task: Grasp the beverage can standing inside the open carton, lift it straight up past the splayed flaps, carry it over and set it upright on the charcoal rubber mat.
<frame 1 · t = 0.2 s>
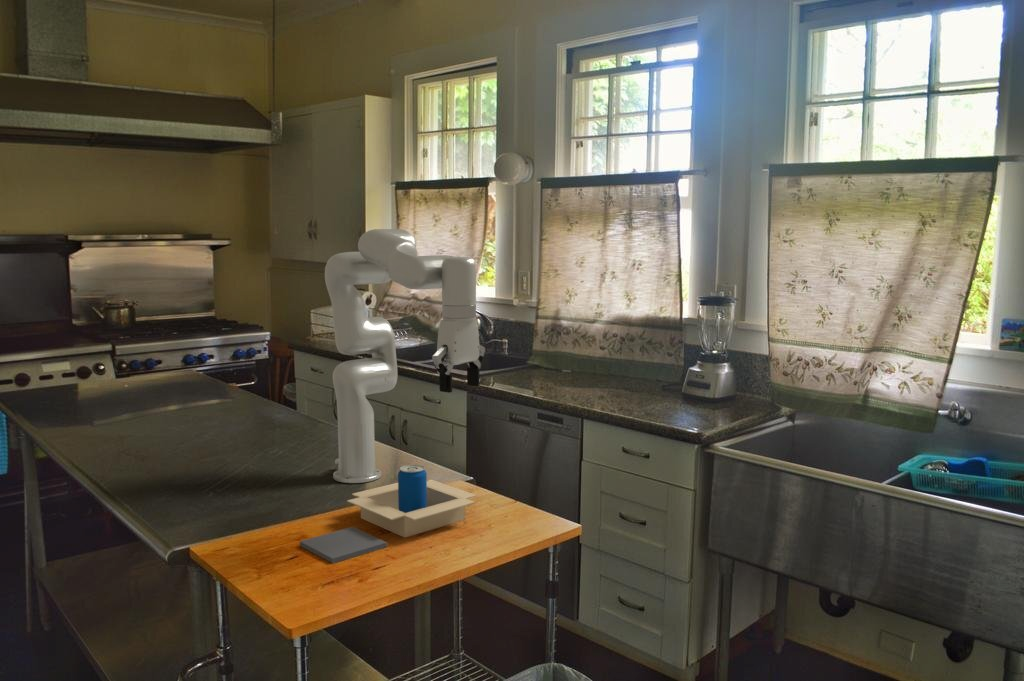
hand: (459, 388, 194), 30 cm above the table, fingers open, 9 cm apart
beverage can: (412, 519, 198), resting in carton
mat: (343, 546, 180), on the table
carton: (412, 518, 198), on the table
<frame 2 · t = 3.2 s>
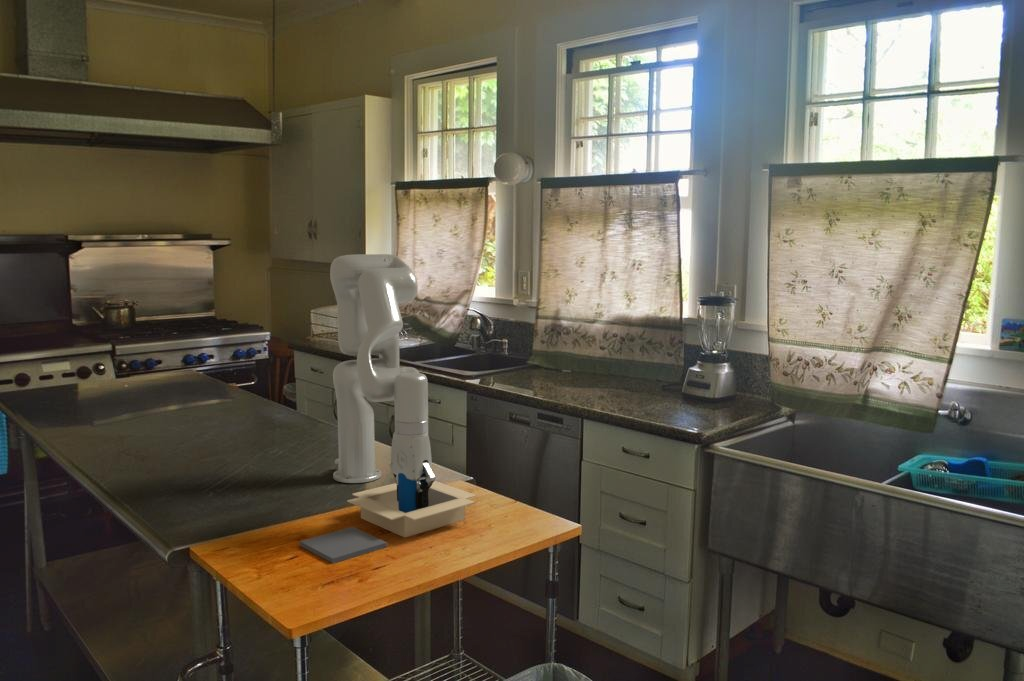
hand: (412, 503, 197), 4 cm above the table, fingers closed on beverage can, 6 cm apart
beverage can: (412, 519, 198), resting in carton, touching gripper
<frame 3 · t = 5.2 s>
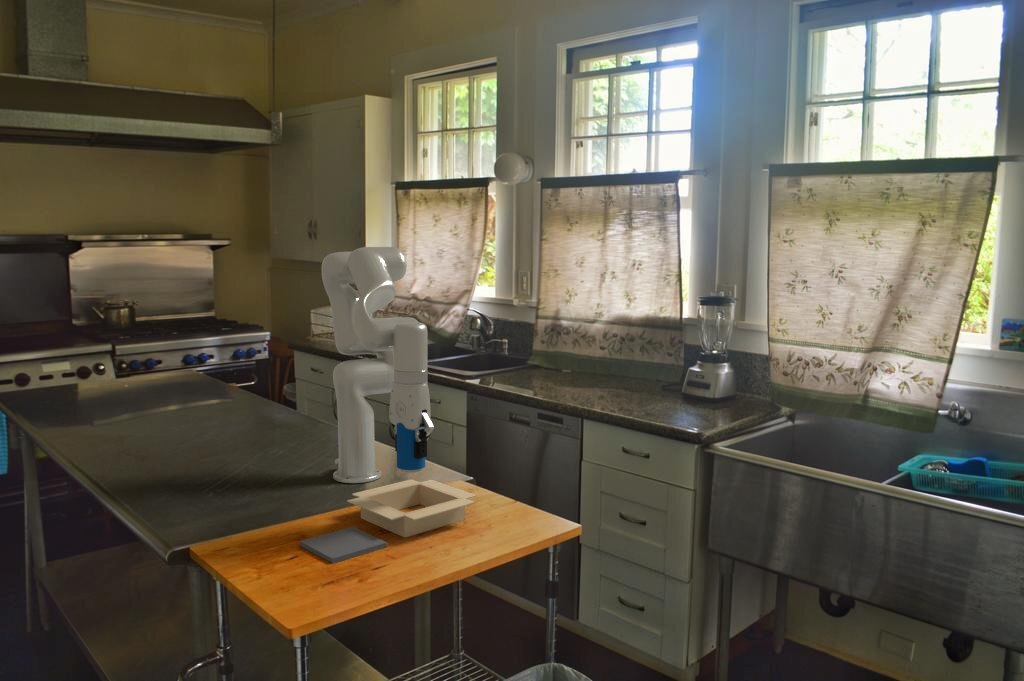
hand: (411, 453, 196), 15 cm above the table, fingers closed on beverage can, 6 cm apart
beverage can: (411, 470, 197), point 11 cm above the table, touching gripper
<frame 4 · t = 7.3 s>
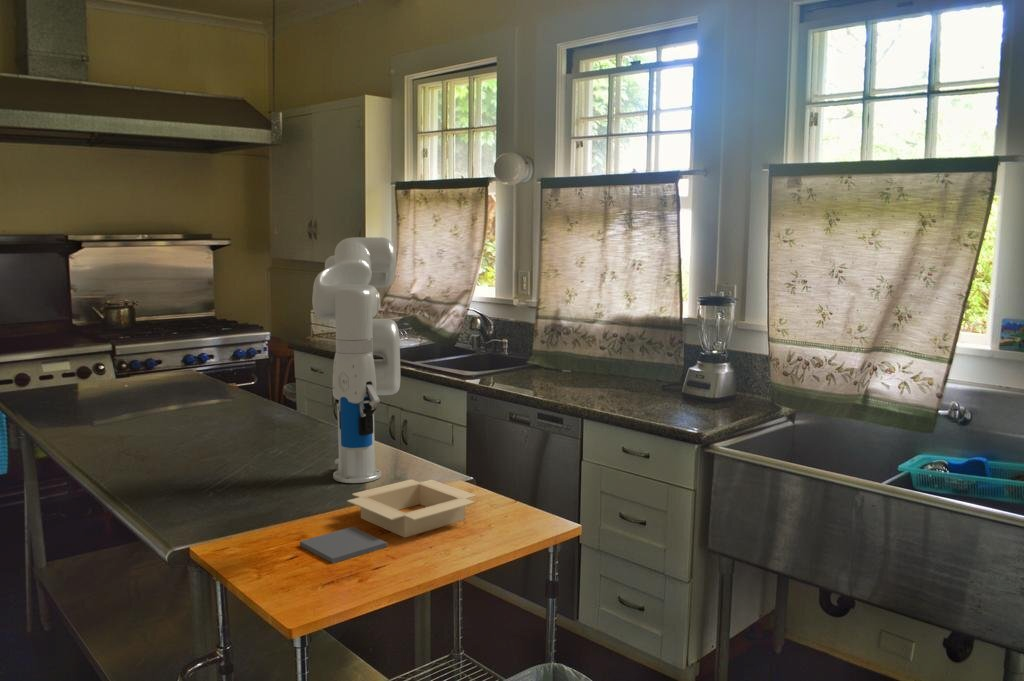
hand: (356, 430, 181), 24 cm above the table, fingers closed on beverage can, 6 cm apart
beverage can: (356, 448, 181), point 20 cm above the table, touching gripper
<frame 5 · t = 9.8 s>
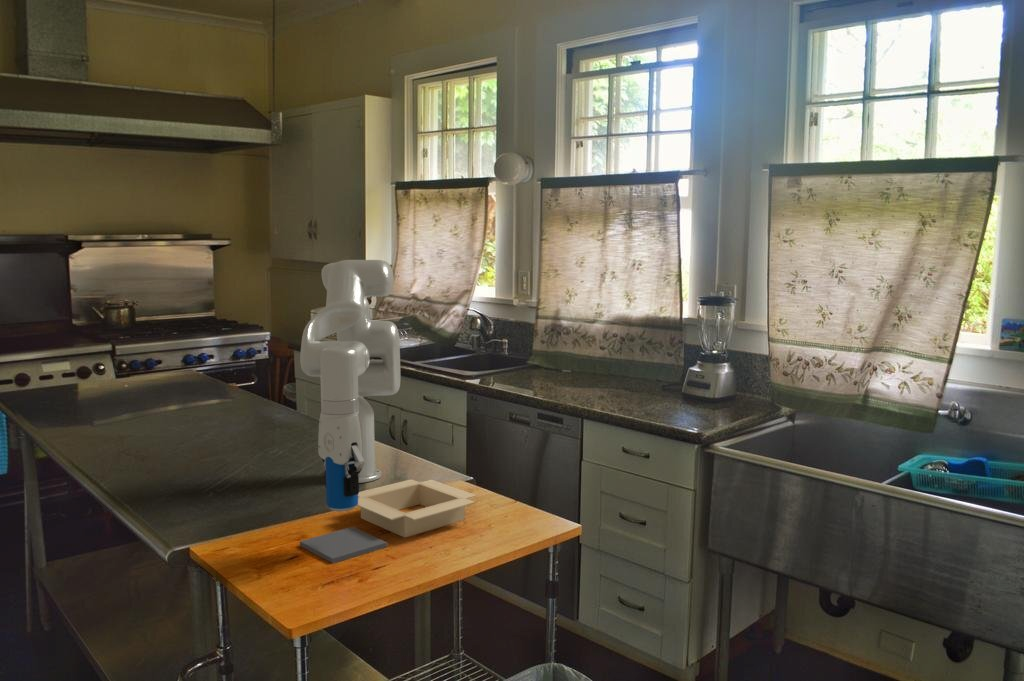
hand: (342, 490, 179), 12 cm above the table, fingers closed on beverage can, 6 cm apart
beverage can: (342, 508, 179), point 8 cm above the table, touching gripper
when the fingers open (6 cm above the table, at t = 11.5 s): beverage can drops 2 cm, resting on mat.
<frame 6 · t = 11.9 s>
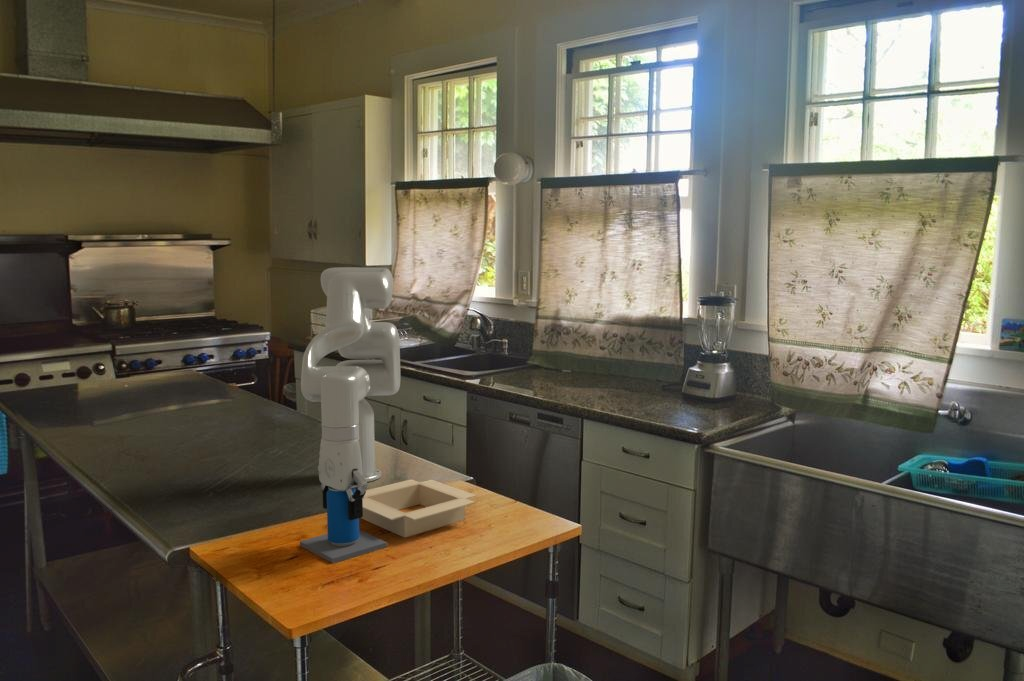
hand: (342, 512, 179), 7 cm above the table, fingers open, 9 cm apart
beverage can: (343, 542, 180), point 1 cm above the table, touching mat
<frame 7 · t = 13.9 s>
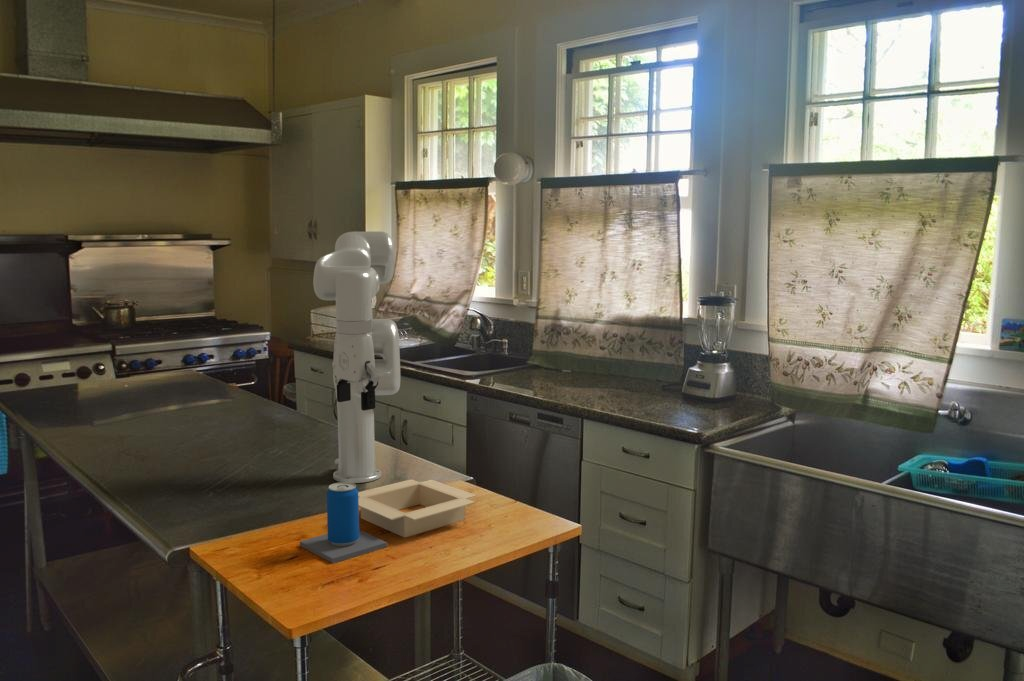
hand: (355, 405, 187), 28 cm above the table, fingers open, 9 cm apart
nothing on the table moved.
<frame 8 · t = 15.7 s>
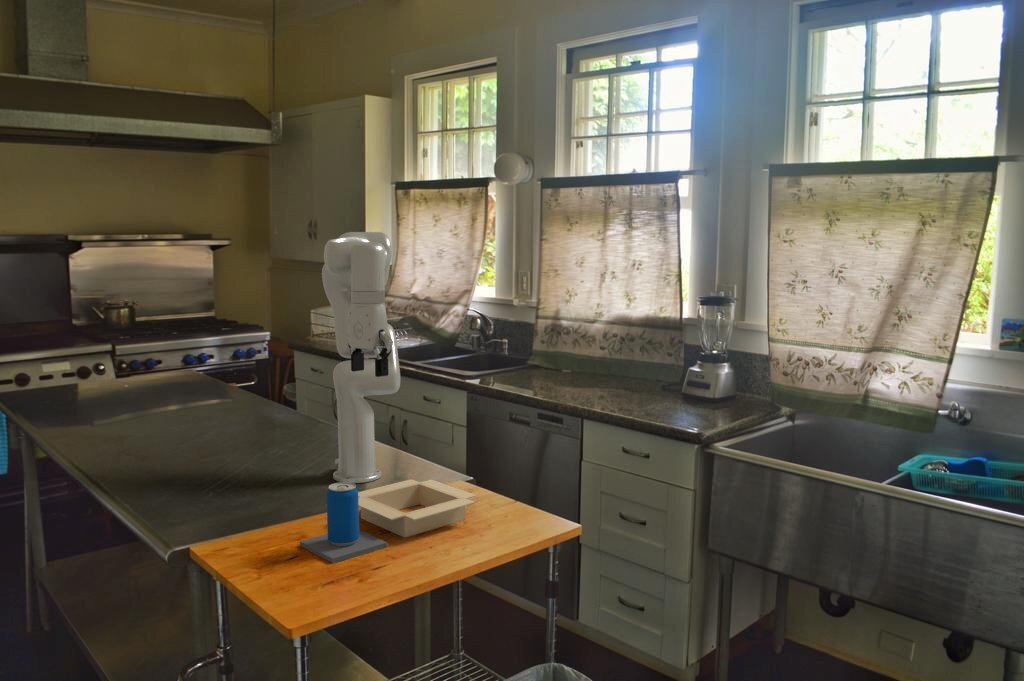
hand: (369, 373, 196), 33 cm above the table, fingers open, 9 cm apart
nothing on the table moved.
at the end: beverage can 0.1 cm from the mat (horizontally); beverage can tilted 0°; the gripper is holding nothing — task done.
